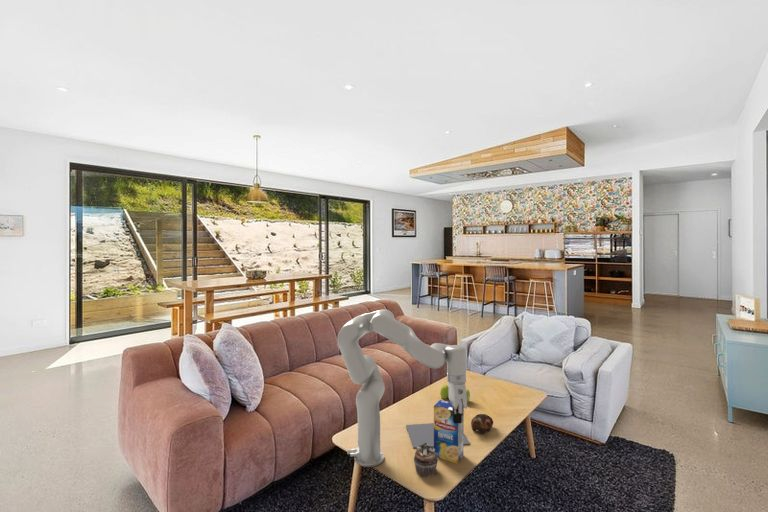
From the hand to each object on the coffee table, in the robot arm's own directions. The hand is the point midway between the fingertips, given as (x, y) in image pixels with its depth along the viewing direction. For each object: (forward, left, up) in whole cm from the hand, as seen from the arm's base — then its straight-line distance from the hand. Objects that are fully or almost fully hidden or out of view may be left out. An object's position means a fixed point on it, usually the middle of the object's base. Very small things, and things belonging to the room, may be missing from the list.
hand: (457, 422), depth 149 cm
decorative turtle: (+21, +29, -20) cm, 41 cm away
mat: (-1, +27, -20) cm, 34 cm away
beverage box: (0, +11, -20) cm, 23 cm away
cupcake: (-12, +2, -20) cm, 24 cm away
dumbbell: (+19, +63, -20) cm, 69 cm away
